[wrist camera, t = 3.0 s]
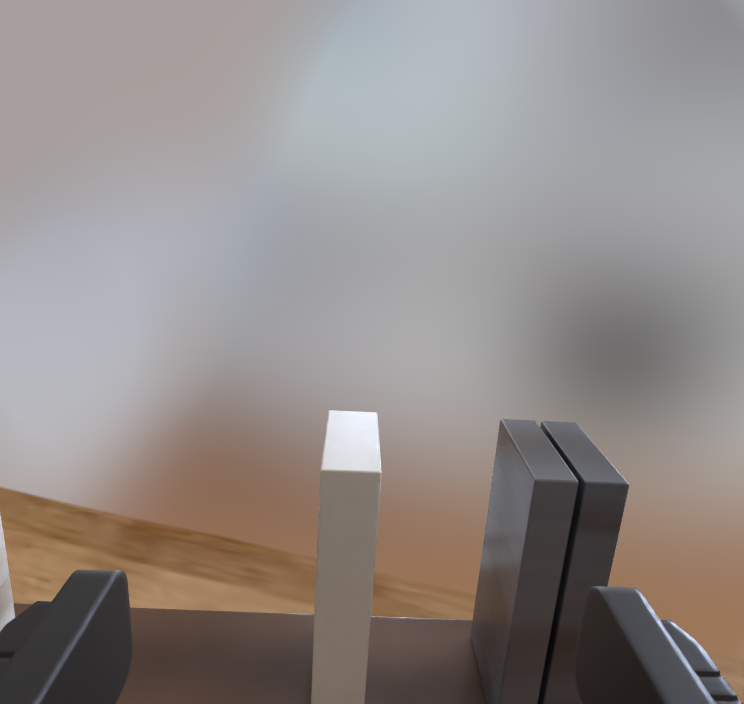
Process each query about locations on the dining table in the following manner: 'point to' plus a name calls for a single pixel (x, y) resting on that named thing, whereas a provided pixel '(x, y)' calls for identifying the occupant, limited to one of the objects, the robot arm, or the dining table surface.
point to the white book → (345, 556)
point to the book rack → (417, 635)
